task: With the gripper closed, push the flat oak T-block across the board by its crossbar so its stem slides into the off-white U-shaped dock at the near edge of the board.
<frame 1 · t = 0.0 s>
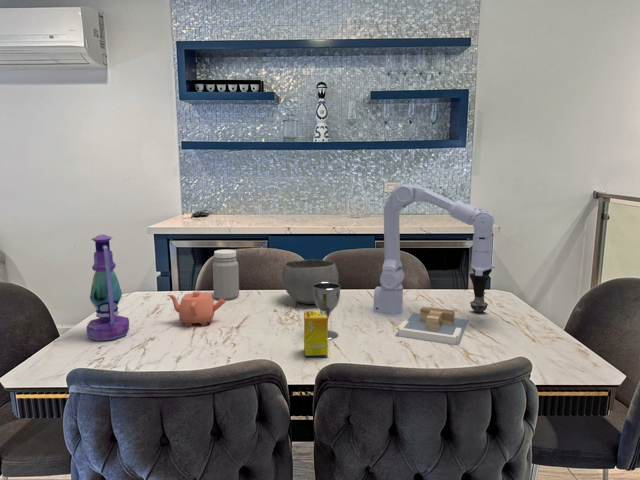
hand: (479, 293, 141), 10 cm above the table, fingers open, 7 cm apart
dock: (426, 339, 128), resting on board
lantern: (109, 336, 133), on the table
silver goblet: (326, 335, 133), on the table
salt shaker: (478, 314, 153), on the table
bowl: (310, 302, 167), on the table
jar: (226, 297, 173), on the table
board: (433, 329, 138), on the table
t block: (434, 325, 140), point 1 cm above the table, touching board
teapot: (197, 323, 144), on the table
supplement box: (315, 354, 119), on the table
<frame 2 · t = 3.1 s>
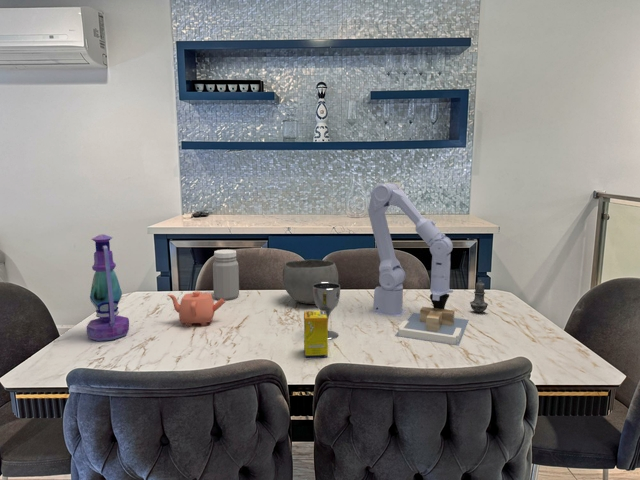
hand: (438, 316, 145), 2 cm above the table, fingers closed
t block: (434, 325, 140), point 1 cm above the table, touching gripper
everything else where it was.
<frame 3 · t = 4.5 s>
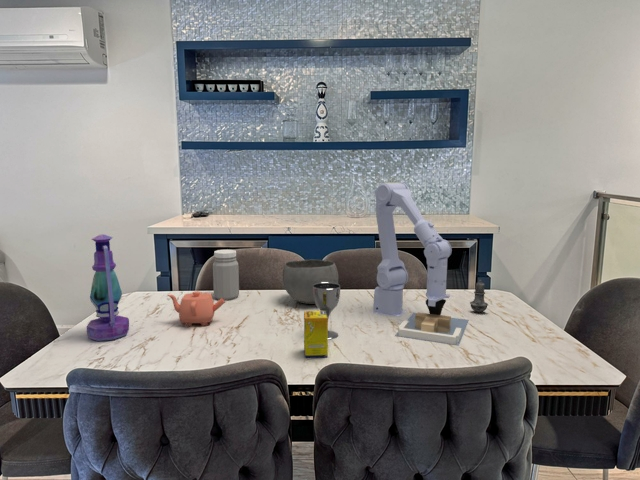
hand: (434, 322, 139), 1 cm above the table, fingers closed
t block: (430, 332, 134), point 1 cm above the table, touching board, dock, gripper
everything else where it was.
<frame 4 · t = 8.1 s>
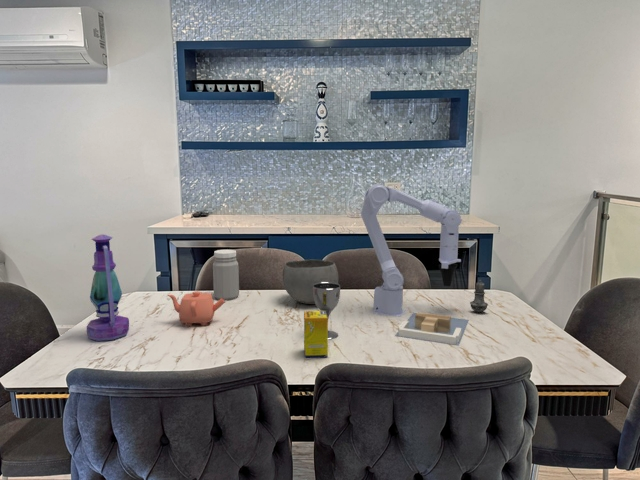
hand: (447, 285, 151), 10 cm above the table, fingers closed
t block: (430, 332, 134), point 1 cm above the table, touching board, dock
everything else where it was.
at the end: t block 0.3 cm from the target spot, point 0.6 cm above the table; t block moved 6.7 cm from its start; t block tilted 0° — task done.
